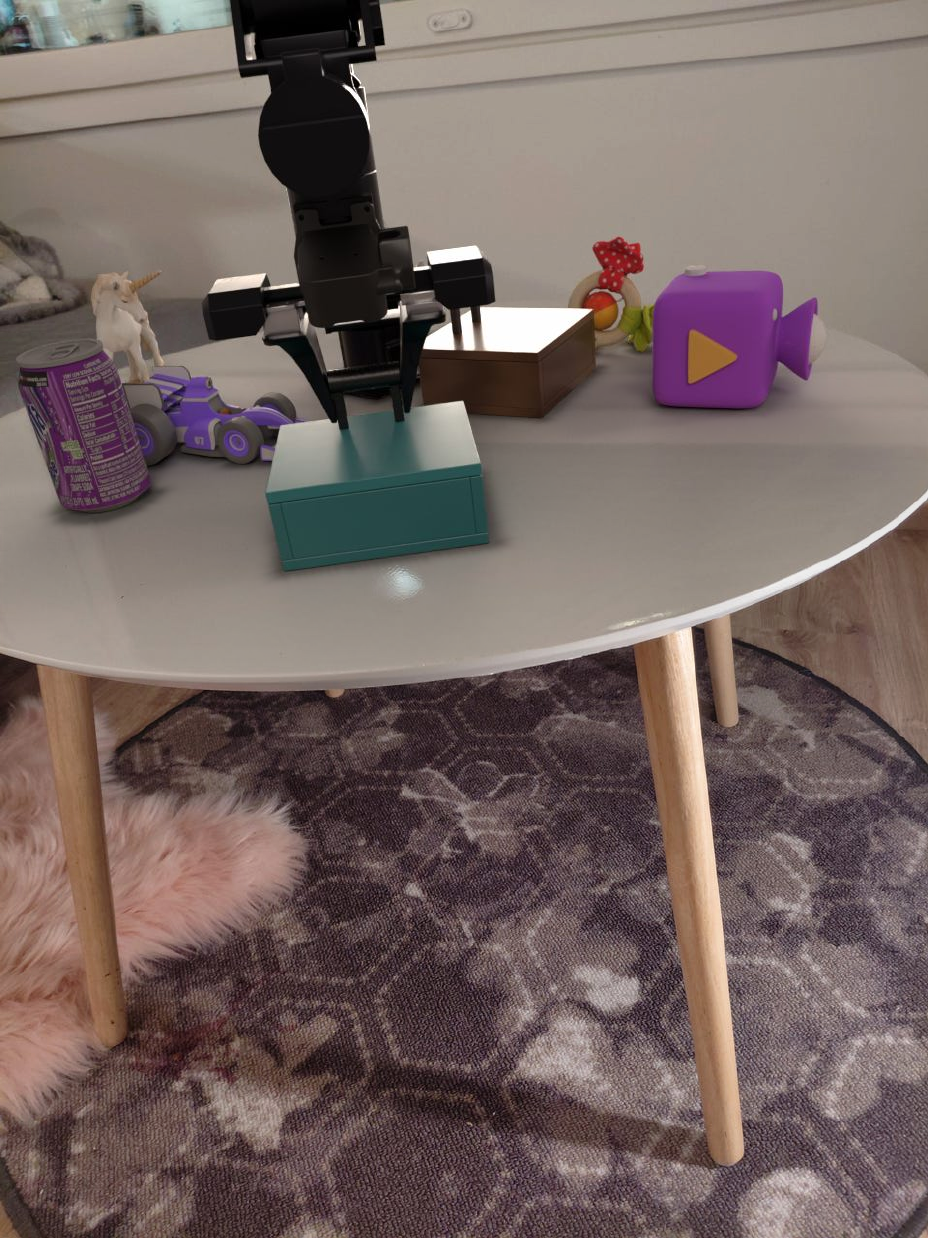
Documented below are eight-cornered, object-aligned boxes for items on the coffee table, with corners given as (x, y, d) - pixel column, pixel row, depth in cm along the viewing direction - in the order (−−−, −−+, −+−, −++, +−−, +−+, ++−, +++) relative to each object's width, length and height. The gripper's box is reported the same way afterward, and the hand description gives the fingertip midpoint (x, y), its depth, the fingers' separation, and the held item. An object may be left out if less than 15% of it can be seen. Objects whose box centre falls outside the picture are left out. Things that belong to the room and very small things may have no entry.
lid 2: (409, 357, 83) (401, 299, 81) (475, 315, 93) (470, 262, 91) (538, 362, 78) (534, 300, 75) (594, 317, 88) (592, 261, 85)
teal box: (294, 499, 71) (281, 439, 69) (472, 475, 72) (465, 415, 69) (283, 571, 61) (267, 505, 59) (489, 543, 62) (482, 475, 59)
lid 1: (282, 435, 69) (267, 368, 67) (464, 410, 70) (457, 343, 67) (267, 504, 59) (249, 428, 56) (482, 474, 59) (474, 397, 57)
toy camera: (827, 413, 74) (840, 283, 69) (651, 419, 77) (651, 294, 72) (812, 370, 83) (823, 252, 78) (655, 377, 86) (655, 263, 81)
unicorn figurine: (126, 429, 90) (81, 285, 83) (98, 382, 105) (59, 257, 98) (199, 411, 92) (162, 270, 85) (162, 367, 108) (128, 245, 101)
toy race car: (274, 470, 77) (256, 392, 73) (122, 465, 82) (98, 393, 78) (323, 427, 84) (309, 355, 81) (181, 425, 89) (162, 357, 86)
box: (424, 410, 85) (417, 358, 83) (487, 363, 95) (483, 316, 93) (541, 418, 80) (538, 362, 78) (596, 368, 90) (594, 317, 88)
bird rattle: (595, 381, 94) (680, 337, 91) (543, 279, 89) (631, 230, 86) (594, 362, 99) (674, 321, 96) (545, 265, 94) (628, 218, 91)
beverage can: (76, 487, 78) (26, 343, 72) (161, 476, 78) (118, 331, 72) (51, 524, 72) (-6, 370, 66) (143, 512, 72) (95, 357, 66)
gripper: (157, 215, 51) (225, 478, 60) (493, 171, 52) (515, 438, 60) (189, 189, 61) (244, 419, 69) (474, 152, 61) (495, 386, 70)
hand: (370, 416), depth 67 cm, fingers closed on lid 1, 5 cm apart
